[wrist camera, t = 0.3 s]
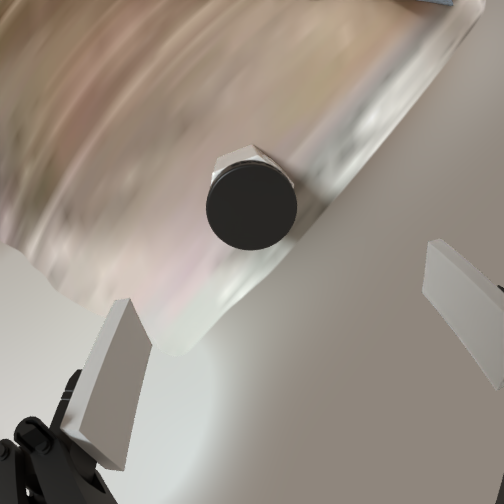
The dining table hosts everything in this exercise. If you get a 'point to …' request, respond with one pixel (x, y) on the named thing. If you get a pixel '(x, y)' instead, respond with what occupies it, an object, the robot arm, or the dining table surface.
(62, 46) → the dining table surface
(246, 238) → the jar
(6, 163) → the dining table surface
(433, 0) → the mat
